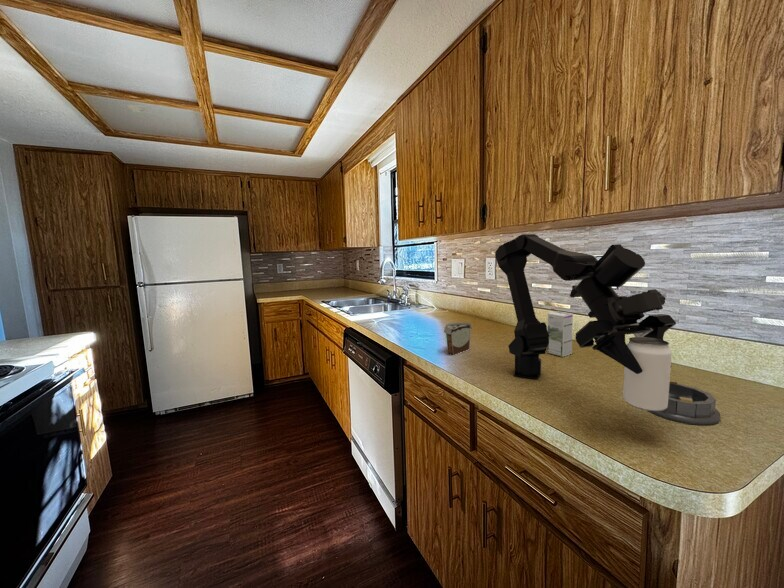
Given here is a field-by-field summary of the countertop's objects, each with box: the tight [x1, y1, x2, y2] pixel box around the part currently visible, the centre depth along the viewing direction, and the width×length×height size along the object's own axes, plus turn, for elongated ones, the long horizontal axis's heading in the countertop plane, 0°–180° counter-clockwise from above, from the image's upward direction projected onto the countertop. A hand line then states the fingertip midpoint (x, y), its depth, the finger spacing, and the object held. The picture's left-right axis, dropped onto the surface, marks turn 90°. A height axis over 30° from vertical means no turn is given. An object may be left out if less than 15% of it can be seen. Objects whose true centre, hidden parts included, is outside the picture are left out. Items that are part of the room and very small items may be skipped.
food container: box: [443, 322, 473, 356], centre depth 115 cm, size 12×6×10 cm, turn 130°
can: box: [622, 336, 672, 412], centre depth 57 cm, size 6×6×12 cm
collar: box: [647, 379, 721, 426], centre depth 67 cm, size 13×13×5 cm
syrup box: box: [546, 310, 574, 358], centre depth 107 cm, size 6×6×14 cm
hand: (654, 370), depth 56 cm, fingers closed on can, 6 cm apart
